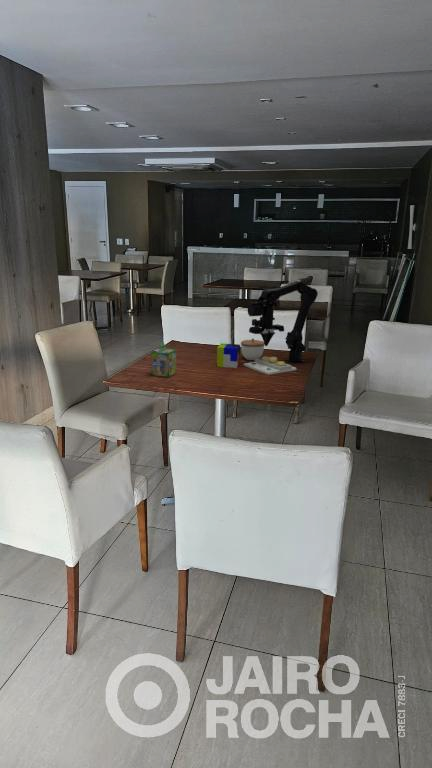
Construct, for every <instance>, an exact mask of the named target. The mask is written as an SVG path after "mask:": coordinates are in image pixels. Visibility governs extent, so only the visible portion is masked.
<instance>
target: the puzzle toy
mask: <svg viewBox="0 0 432 768" xmlns="http://www.w3.org/2000/svg"><path fill="white" fill-rule="evenodd" d="M216 348H217V349H216V351H217V352H216V355H217V356H216V367H218V368H233V369H234V368H235V369H237V368H238V367H239V365H240V358H241V344H235V343H220V344H219V345H218V346H217V347H216Z"/></svg>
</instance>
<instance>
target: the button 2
mask: <svg viewBox="0 0 432 768" xmlns="http://www.w3.org/2000/svg"><path fill="white" fill-rule="evenodd" d="M277 361H278V362H277V366H280V367H282V366H285V364H286V363H285V362H286V361H282V360H281V361H280V360H277Z"/></svg>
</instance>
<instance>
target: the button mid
mask: <svg viewBox="0 0 432 768" xmlns="http://www.w3.org/2000/svg"><path fill="white" fill-rule="evenodd" d="M268 357H269V363H272V364H275V363H277V361H278V357H276V356H268Z"/></svg>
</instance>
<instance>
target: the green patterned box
mask: <svg viewBox="0 0 432 768" xmlns="http://www.w3.org/2000/svg"><path fill="white" fill-rule="evenodd" d="M159 347H160V348H156V349H154V350H152V351H151V352H150V358H151V376H153V377H154V376H156V377H165V378H169V377H171V376H174V375H175V374H177V349H172V348H171V349H170V348H166V345H165V342H162V343H160V344H159Z"/></svg>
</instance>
